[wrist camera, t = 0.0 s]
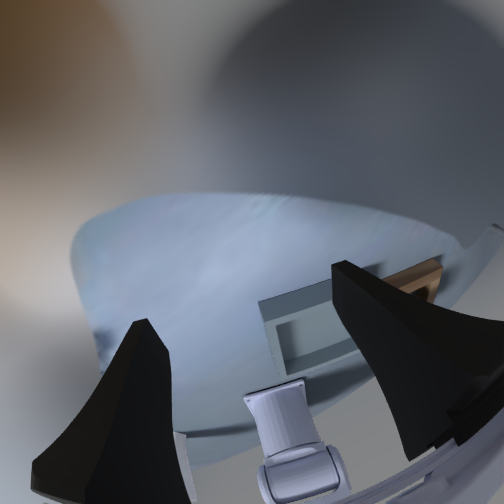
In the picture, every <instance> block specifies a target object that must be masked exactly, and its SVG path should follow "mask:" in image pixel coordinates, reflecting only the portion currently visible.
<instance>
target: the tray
mask: <svg viewBox="0 0 504 504" xmlns="http://www.w3.org/2000/svg"><path fill="white" fill-rule="evenodd" d="M258 305H259V309H260V313H261V316H262V320H263V324H264V327H265V331H266V335H267V338H268V342H269V346H270V349H271V353H272V356H273V360H274V364H275V367H276V370H277V373H278V376H279V379H280V381H284V380H287V379H290V378H293V377H296V376H299V375H302V374H305V373H308V372H311V371H314V370H316V369H319V368H322V367H325V366H327V365H330V364H332V363H335V362H337V361H340V360H342V359H345V358H347V357H350V356H352V355H354V354H357V353H359V352H361V351H360V350H359V348H358V347H357V345H356V344H355V342H354V341H353V339H352V338H351V336H350V335H349V333H348V332H347V330H346V329H345V327H344V325H343V324H342V322H341V320H340V318H339V316H338V314H337V312H336V310H335V308H334V306H333V304H332V279H329V280H326V281H323V282H320V283H317V284H314V285H311V286H308V287H305V288H302V289H299V290H296V291H293V292H290V293H286V294H283V295H280V296H277V297H274V298H270V299H267V300H264V301H261V302H258Z"/></svg>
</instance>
